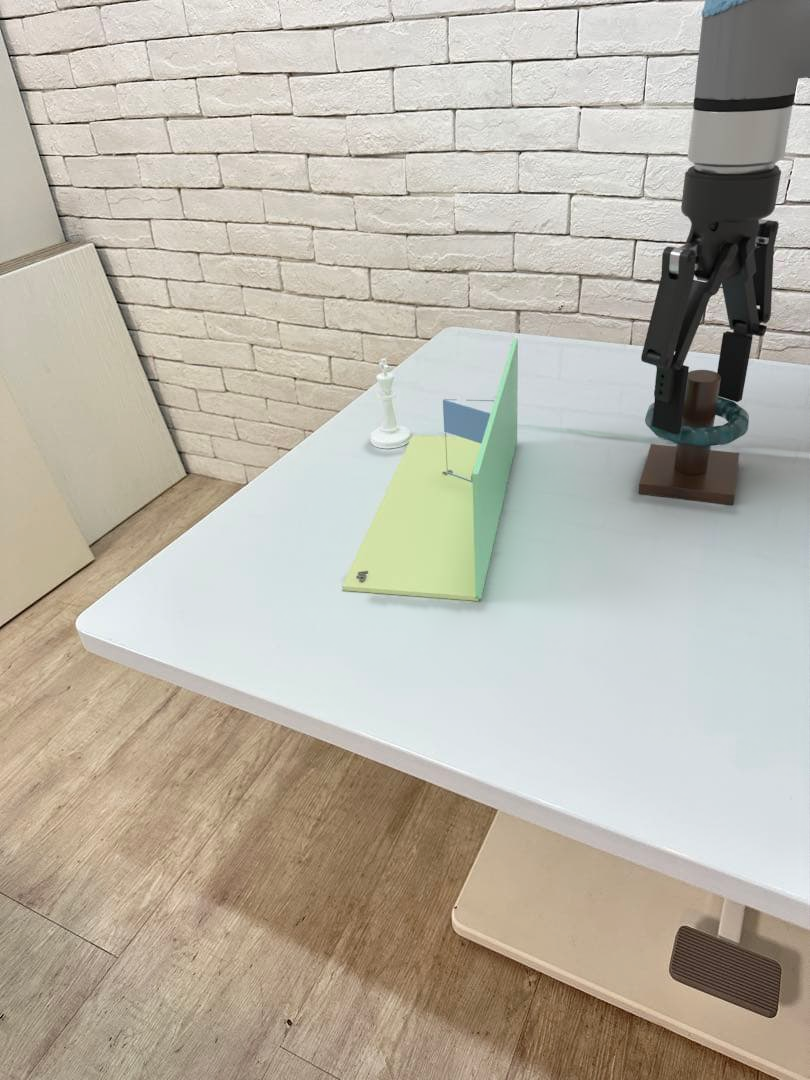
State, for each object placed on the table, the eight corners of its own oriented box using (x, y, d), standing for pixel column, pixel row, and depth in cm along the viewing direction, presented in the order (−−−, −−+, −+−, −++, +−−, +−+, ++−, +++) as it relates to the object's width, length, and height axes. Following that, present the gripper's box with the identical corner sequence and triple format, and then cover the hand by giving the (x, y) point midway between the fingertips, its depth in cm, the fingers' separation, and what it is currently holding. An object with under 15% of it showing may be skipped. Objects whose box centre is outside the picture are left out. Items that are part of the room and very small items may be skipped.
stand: (737, 462, 84) (755, 361, 78) (733, 505, 78) (752, 398, 71) (650, 453, 88) (660, 355, 81) (638, 493, 81) (648, 390, 75)
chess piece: (400, 426, 98) (393, 348, 92) (418, 441, 94) (412, 360, 88) (363, 436, 96) (354, 357, 91) (380, 452, 92) (372, 370, 87)
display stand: (481, 601, 68) (478, 474, 61) (342, 590, 71) (324, 467, 64) (517, 442, 92) (517, 338, 85) (412, 438, 95) (405, 337, 88)
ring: (748, 411, 81) (751, 395, 80) (744, 454, 74) (748, 437, 73) (652, 403, 85) (653, 387, 84) (638, 443, 77) (640, 426, 76)
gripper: (766, 142, 74) (729, 371, 86) (610, 182, 63) (593, 437, 76) (846, 147, 69) (794, 389, 81) (691, 192, 58) (659, 463, 71)
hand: (697, 412), depth 79 cm, fingers closed on ring, 9 cm apart
